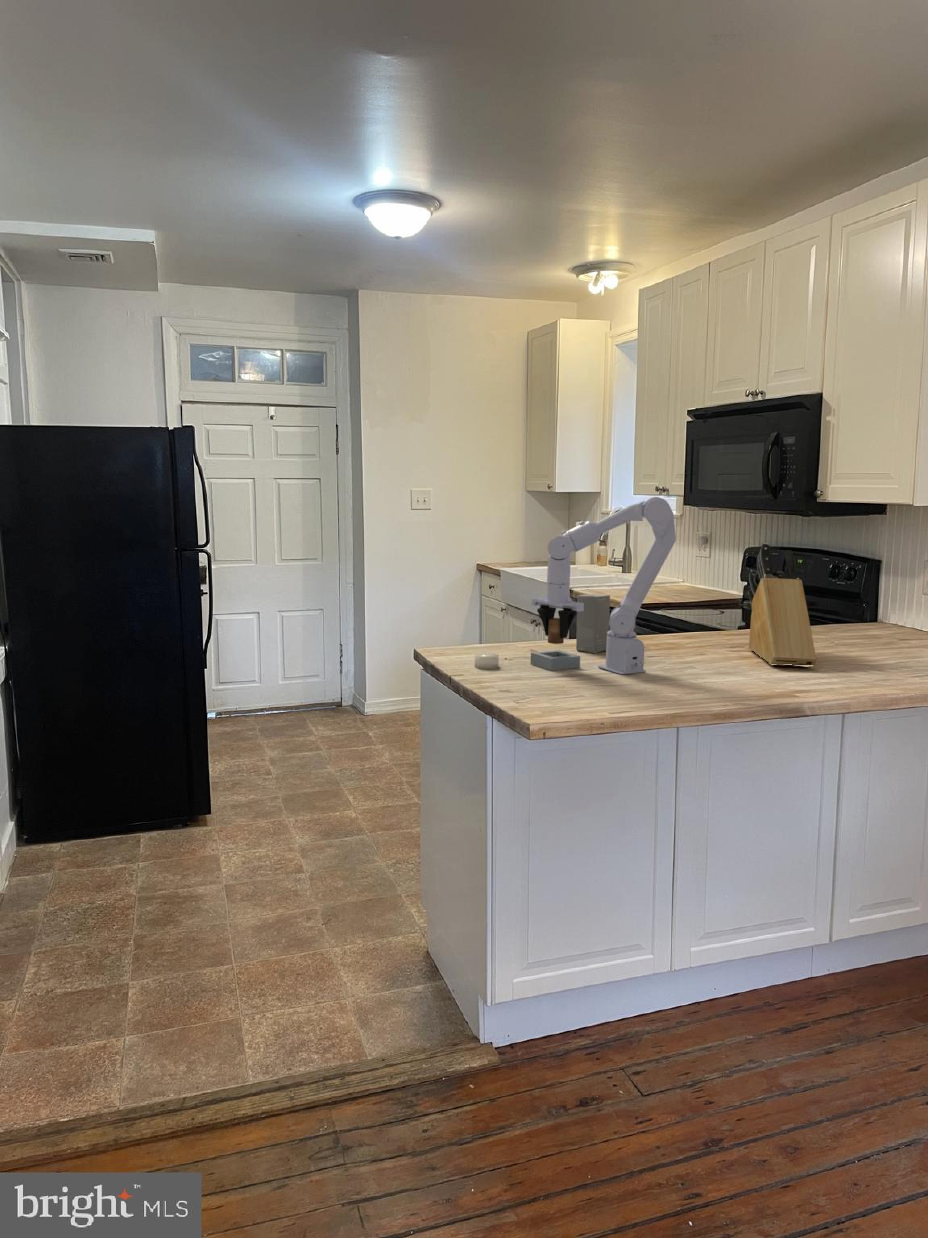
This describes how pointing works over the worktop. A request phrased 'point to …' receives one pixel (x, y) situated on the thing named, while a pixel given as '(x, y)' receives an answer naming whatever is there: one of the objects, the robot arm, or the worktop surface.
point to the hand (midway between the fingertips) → (556, 636)
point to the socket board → (555, 660)
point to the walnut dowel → (554, 631)
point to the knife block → (779, 614)
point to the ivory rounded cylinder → (486, 660)
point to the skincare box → (593, 623)
